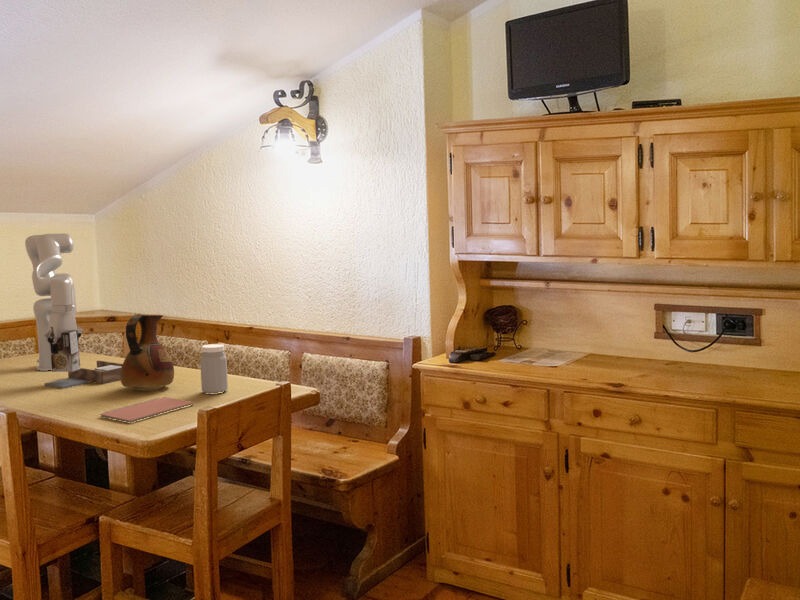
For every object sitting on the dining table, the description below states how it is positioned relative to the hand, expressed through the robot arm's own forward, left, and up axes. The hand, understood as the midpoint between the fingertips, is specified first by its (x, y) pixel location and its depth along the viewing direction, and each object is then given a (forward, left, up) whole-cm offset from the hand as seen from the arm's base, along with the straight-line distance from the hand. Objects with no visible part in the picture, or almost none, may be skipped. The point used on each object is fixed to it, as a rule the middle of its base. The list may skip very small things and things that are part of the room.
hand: (64, 351), depth 304 cm
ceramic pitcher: (+37, +10, -14) cm, 41 cm away
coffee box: (0, 0, -8) cm, 8 cm away
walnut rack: (+1, +15, -14) cm, 20 cm away
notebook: (+64, -13, -14) cm, 67 cm away
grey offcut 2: (+9, +15, -14) cm, 22 cm away
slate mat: (0, 0, -14) cm, 14 cm away
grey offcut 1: (+5, +15, -14) cm, 21 cm away
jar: (+64, +19, -14) cm, 68 cm away
